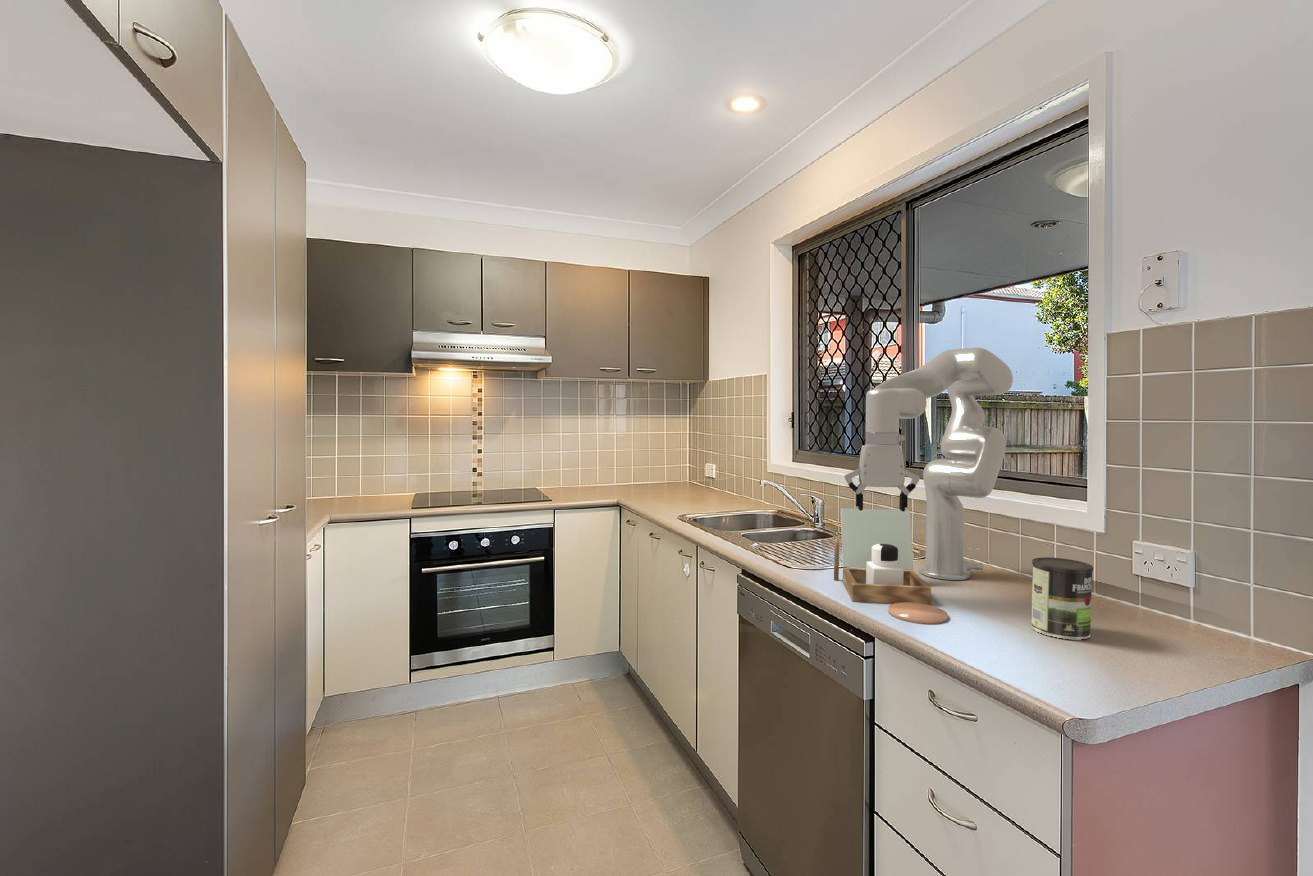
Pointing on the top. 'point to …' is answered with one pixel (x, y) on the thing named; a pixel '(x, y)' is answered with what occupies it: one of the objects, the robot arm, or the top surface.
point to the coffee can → (1061, 598)
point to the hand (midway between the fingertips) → (881, 510)
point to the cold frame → (886, 588)
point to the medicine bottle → (884, 566)
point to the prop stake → (836, 559)
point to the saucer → (918, 613)
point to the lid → (875, 535)
